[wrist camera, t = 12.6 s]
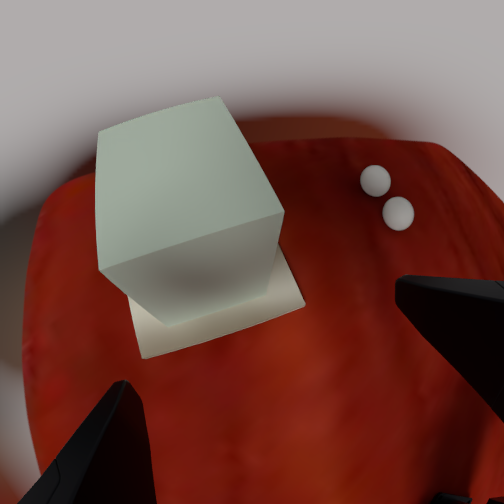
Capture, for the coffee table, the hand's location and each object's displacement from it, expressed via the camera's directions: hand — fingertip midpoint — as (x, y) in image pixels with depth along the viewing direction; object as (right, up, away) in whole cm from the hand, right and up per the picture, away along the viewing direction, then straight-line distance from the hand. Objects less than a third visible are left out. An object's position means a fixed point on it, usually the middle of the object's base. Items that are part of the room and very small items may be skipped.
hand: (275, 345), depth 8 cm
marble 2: (+12, +5, +15) cm, 20 cm away
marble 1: (+11, +9, +17) cm, 22 cm away
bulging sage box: (-5, +2, +13) cm, 14 cm away
